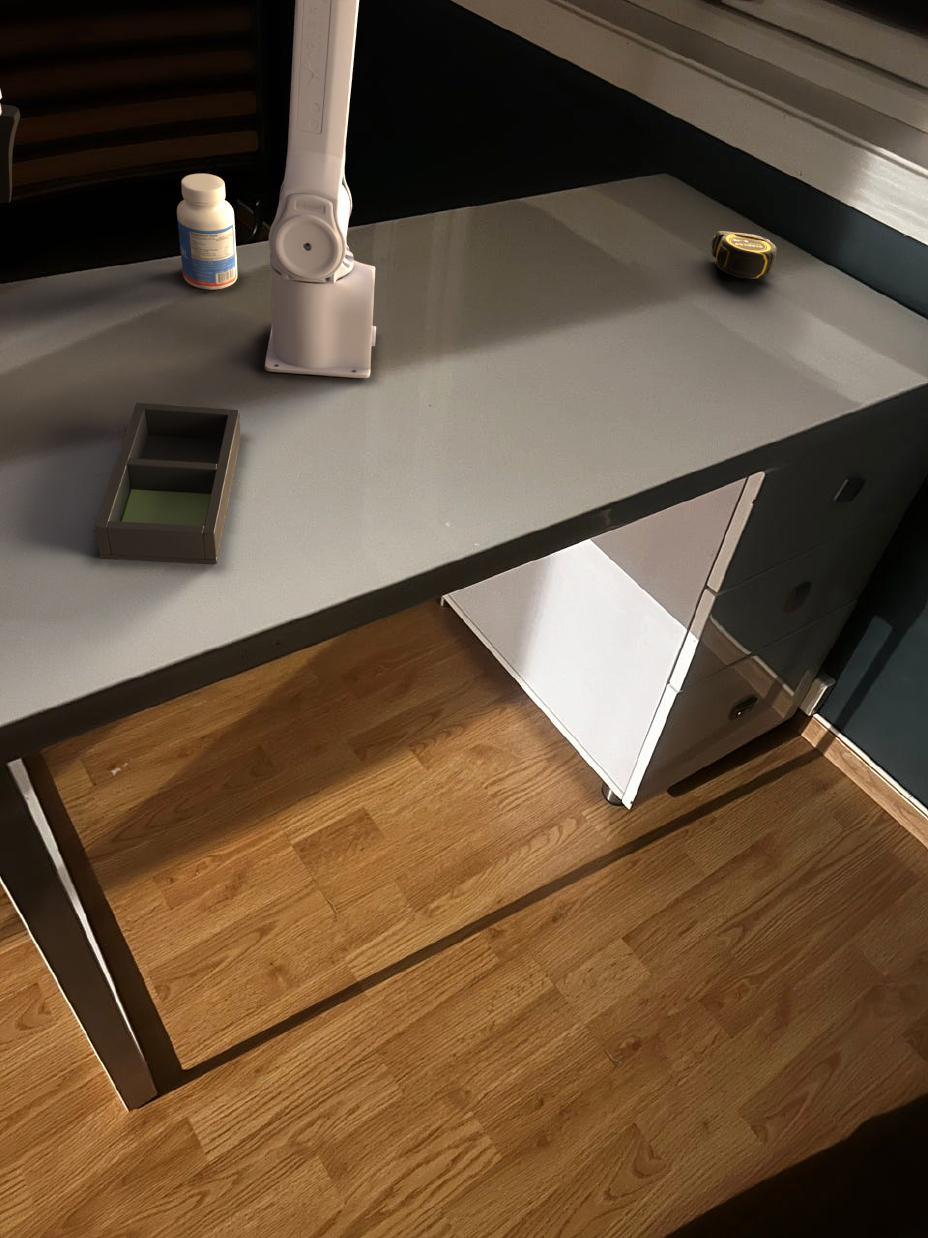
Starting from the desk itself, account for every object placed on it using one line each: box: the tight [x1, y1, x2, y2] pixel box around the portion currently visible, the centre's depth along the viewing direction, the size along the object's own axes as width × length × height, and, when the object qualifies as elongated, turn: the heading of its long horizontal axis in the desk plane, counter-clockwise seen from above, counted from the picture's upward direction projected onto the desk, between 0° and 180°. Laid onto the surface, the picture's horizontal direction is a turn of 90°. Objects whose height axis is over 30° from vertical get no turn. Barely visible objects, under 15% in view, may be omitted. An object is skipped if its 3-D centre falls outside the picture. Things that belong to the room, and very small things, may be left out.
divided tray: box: [94, 402, 242, 565], centre depth 74 cm, size 8×15×3 cm, turn 3°
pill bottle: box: [176, 173, 238, 291], centre depth 96 cm, size 6×5×10 cm
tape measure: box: [710, 230, 778, 280], centre depth 113 cm, size 7×7×4 cm
